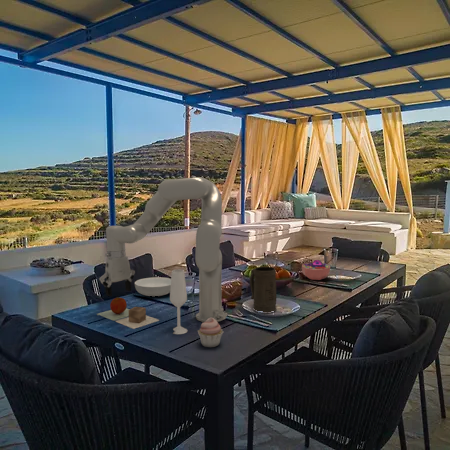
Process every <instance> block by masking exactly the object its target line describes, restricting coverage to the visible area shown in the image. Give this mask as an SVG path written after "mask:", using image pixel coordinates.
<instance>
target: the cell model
mask: <svg viewBox="0 0 450 450" xmlns="http://www.w3.org/2000/svg"><path fill="white" fill-rule="evenodd" d="M301 271H302V274H303V275H304V276H305V277H306V278H308V279H309V280H313V281H321V280H323V279H326V278H327V277H329V275H330V272H331V266H330V264H328V263H323V261H321V260H319V259H314V260H313V261H312V262H305V263H302V265H301Z"/></svg>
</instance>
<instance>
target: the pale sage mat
mask: <svg viewBox="0 0 450 450" xmlns="http://www.w3.org/2000/svg"><path fill="white" fill-rule="evenodd" d="M130 309H131V308H130ZM130 309H129V308H127V307H126V310H125V311H124V312H123V313H120V314H116V313H113V312H112V310H111V309H110V310H105V311H103V312H102V311H101V312H99V313H96V316H101V317H103V318H106V319H108V320H111V321H117V320H121V319H124V318H127V317H129V311H128V310H130Z"/></svg>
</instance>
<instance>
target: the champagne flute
mask: <svg viewBox="0 0 450 450" xmlns="http://www.w3.org/2000/svg"><path fill="white" fill-rule="evenodd" d="M170 277H171V278H170V279H171V289H170V293H169V301H170V302H171V304H172V306H174V307H176V310H177V311H176V315H177V316H176V317H177V318H176V319H177V322H176V323H177V326H176V327H173V329H172V330H173V331H172V334H173V335H184V334H186V333H188V329H187V328H185V327H183V326H182V325H181V307H183V306H184V304H185V303H186V302H187V301H188V295H187V294H188V293H187V283H186V275H185V270H184V269H173V270H171V276H170Z"/></svg>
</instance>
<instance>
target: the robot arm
mask: <svg viewBox="0 0 450 450" xmlns="http://www.w3.org/2000/svg"><path fill="white" fill-rule="evenodd" d="M198 199H200V200H201V209H200V210H201V211H200V212H201V216H200V224H199V225H198V227H197V229H196V232H195V252H194V253H195V264H196V266H197V268H198V271H199V272H198V273H199V274H198V291H199V292H198V299H199V301H198V303H199V304H198V305H199V307H198V309H199V312H198V313H196V314H195V319H196V320H197V321H199V322H202V323H204V322H206V320H207V319H208V318H214V319H215V320H216V321H217V322H218V323H219V322H221V321H223V320H226V318H227V316H228V313H227V312H224V308H223V307H222V306H223V305H222V304H223V303H222V302H223V301H222V280H223V279H222V274H223V273H222V269H223V268H222V267H223V266H222V265H223V254H222V251H221V249H220V245H221V243H220V241H221V236H222V233H223V229H222V228H223V227H222V221H223V216H222V215H223V210H222V209H223V201H222V200H223V199H222V195H221V192H220V190H219V188H218V186H217V185H216V184H215V183H214V182H212V181H211V180H209V179H207V178H204V177H201V176H200V177H195V176H194V177H187V178H186V177H184V178H183V177H182V178H171V179H170V178H168V179H167V178H166V179H165V180H162V181H161V183H159V185H158V187H157V191H156V192H155V193H154V194H153V195H152V197H151V198H149V200H148V201H147V203H146V204H145V208H144V211H143V213H142V214H141V215H140V217H139V218H138V219H137V220H136V221H135V222H134V223H132V224H130V225H127V226H122V225H109V226H107V227H106V228H105V233H106V234H105V235H106V236H105V237H106V253H105V255H104V257H106V260H105V272H104V274H103V275H101V276H100V277H99V278H98V279H99V281H100V283H101V285H102V286H104V287H105V294H106V296H108V297H112V296H113V293H112V292H113V291H112V290H113V289H112V286H111V285H112V284H113V283H118V282H121V281H125V282H124V283H125V288H124V289H125V291H128V292H131V291H132V281H133V279H134V276H135V274H136V270H134V269H131V265H130V261H129V258H128V256H127V255H126V244H135V243H137V242H139V241H141V240H142V239H144V238H145V237H146V236H147V235H148V234H149V233H150V232H151V230H152V229H153V228H154V227H155V226H156V225H157V223H158V222H159V221H160V220H161V219H162V217H163V216H164V215H165V214H166V213H167V212H168V211H169V210H170V208H171V207H173V206H174V204H175V203H176V202H177V201H185V200H198Z"/></svg>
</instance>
